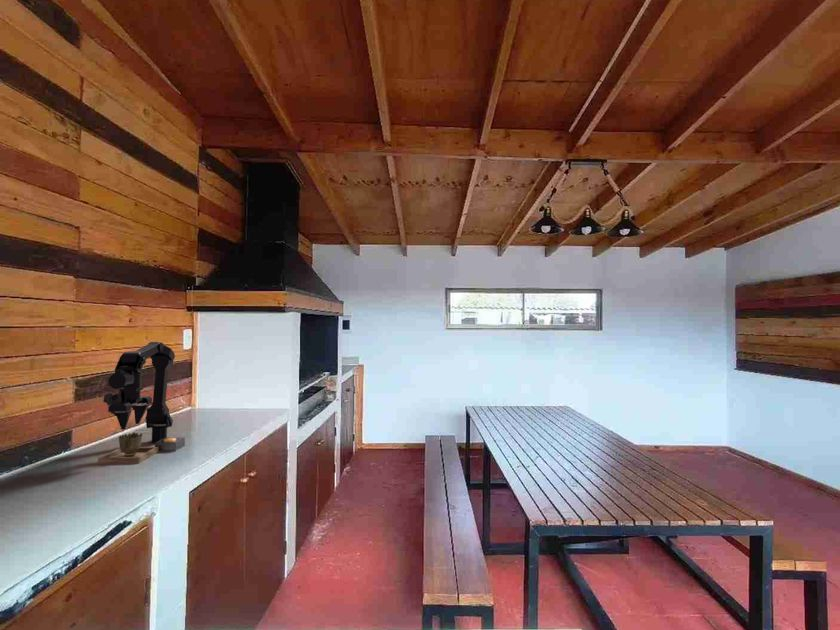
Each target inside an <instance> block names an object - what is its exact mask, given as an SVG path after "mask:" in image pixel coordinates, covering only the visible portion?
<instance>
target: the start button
mask: <svg viewBox="0 0 840 630" xmlns="http://www.w3.org/2000/svg"><path fill="white" fill-rule="evenodd" d="M174 441H176V438H173V437H167V439H164V442H174Z"/></svg>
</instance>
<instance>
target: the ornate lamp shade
mask: <svg viewBox="0 0 840 630" xmlns="http://www.w3.org/2000/svg"><path fill="white" fill-rule="evenodd" d="M142 437H143V433H138V432H133V433H128V434H127V433H125V434H122V435H119V436H118V442H119V448H120V449H121V451H122V452H123V453H125V454H124V456H125V457H132V456H135V454H136V452H135V451H137V450H138V449H139V448H140V447H141V446H142V445H141V444H142V439H143V438H142Z"/></svg>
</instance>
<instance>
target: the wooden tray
mask: <svg viewBox="0 0 840 630" xmlns="http://www.w3.org/2000/svg"><path fill="white" fill-rule="evenodd" d="M135 452H136V454H135V456H132V457H125V456H124V454H125V453H123V452H122V451H121V449H120V447H119V448H117V449H115V450H112V451H111V452H109V453H106V454H104V455H102V456H99V457H98V458H97V464H98V465H121V464H123V465H125V464H126V465H129V464H140V463H142V462H144V461H145V460H147V459H149V458H151V457H153V456H154V455H156V454H159V453H160V452H159V447H155V446H140V448H139V449H138V450H137V451H135Z"/></svg>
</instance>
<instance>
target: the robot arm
mask: <svg viewBox="0 0 840 630" xmlns="http://www.w3.org/2000/svg"><path fill="white" fill-rule="evenodd" d="M175 356H176V354H175V352H174V351H173V349H172V348H171V347H169V346H167V345H165V344H164V342H160V341H150V342H148V343H147V344H146V345H144V346H142V347H140V348H139V349H136V350H132V351H124V352H123V353H122V354H121V355H120V357H119V358H118V361H117V364H116V366H115V368H114V373H112V374H111V375H110V376H109V378H108V380H107V381H108V385H109V387H111V388H112V389H115V390H117V389H119V390H118V392H117V393H114V394H113V393H112V392H108V393H106V394H104V395H103V400H102V401H103V403H104V404H106V406H107V412H109V413H110V414H111V415H114V416H115V417H116V419H117V421H118V425H119V426H120V429H121V430H126V428H127V426H128V423H129V419H130V417H131V414H132V409H133V412H134V413H133V414H134V423H135V425H139V424H140V422H141V421H142V419H143V418H144V415H145V414H146V415H145V420H144V421H145V424H146V428H147V429H150V428H151V439H150V440H148V441H147V443H148V444H151V443H152V444H155V442H157V441H159V440H161V439H163V438H168V428H171V427H172V426H173V422H174V420H173V418H172V416H171V414H170V408H169V407H168V405H167V403H166V401H167V390H168V388H167V387H168V376H169V370H170V368H171V367H172V366H173V364H174V360H175V359H176V358H175ZM149 358H150V359H151V365H152V367H153V368H154V370H155V373H154V383H153V384H154V385H153V396H152V397H151V396H150V395H148V396H147V395H145V396H143V395H141V393H142V392H141V391H143V390H144V386H142V373H143V372H144V370H143V366H144V365H145V364H146V363H147V359H149Z"/></svg>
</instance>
